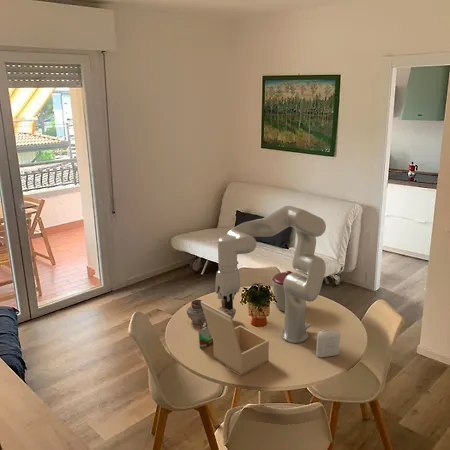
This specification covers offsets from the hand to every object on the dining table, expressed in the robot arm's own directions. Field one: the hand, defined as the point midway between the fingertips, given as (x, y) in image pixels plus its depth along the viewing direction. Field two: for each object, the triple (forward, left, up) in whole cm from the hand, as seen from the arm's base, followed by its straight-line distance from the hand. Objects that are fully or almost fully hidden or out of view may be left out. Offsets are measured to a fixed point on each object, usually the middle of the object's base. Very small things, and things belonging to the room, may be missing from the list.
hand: (228, 308), depth 192 cm
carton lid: (+4, 0, -7) cm, 8 cm away
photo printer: (-38, +23, -27) cm, 52 cm away
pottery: (-19, -35, -27) cm, 48 cm away
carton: (-7, 0, -27) cm, 28 cm away
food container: (-5, -20, -27) cm, 34 cm away
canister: (-59, -19, -27) cm, 67 cm away
